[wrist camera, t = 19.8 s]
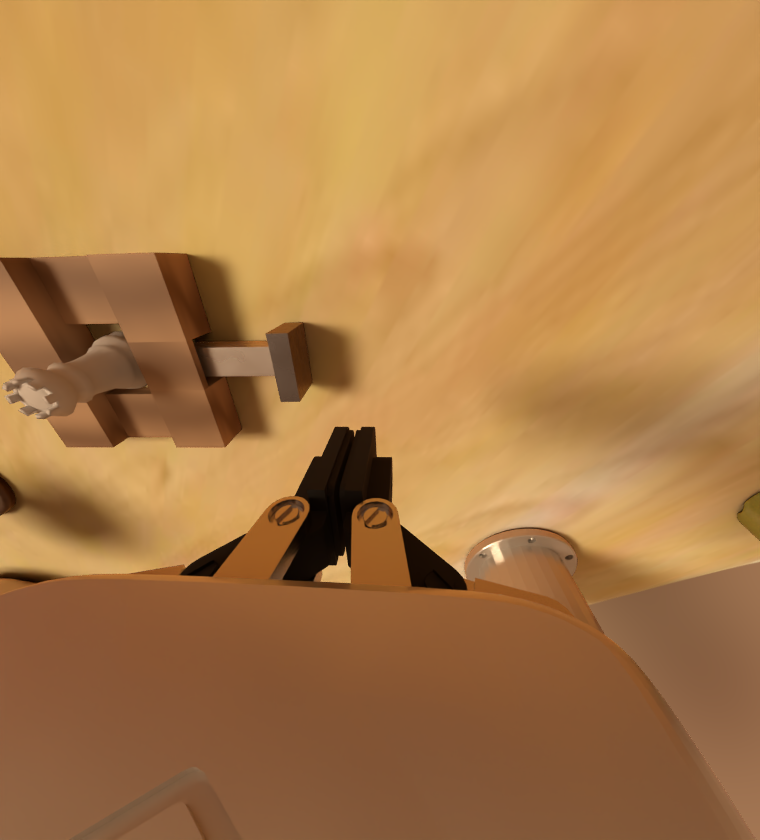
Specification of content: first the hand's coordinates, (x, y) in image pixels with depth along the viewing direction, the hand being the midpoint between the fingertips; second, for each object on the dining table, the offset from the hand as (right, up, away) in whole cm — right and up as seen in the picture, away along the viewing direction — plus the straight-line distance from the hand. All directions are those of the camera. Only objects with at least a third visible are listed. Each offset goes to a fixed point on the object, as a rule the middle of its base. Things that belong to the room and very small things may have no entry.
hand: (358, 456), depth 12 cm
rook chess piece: (-19, +7, +11) cm, 23 cm away
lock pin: (-11, +7, +11) cm, 17 cm away
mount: (-19, +7, +11) cm, 23 cm away
